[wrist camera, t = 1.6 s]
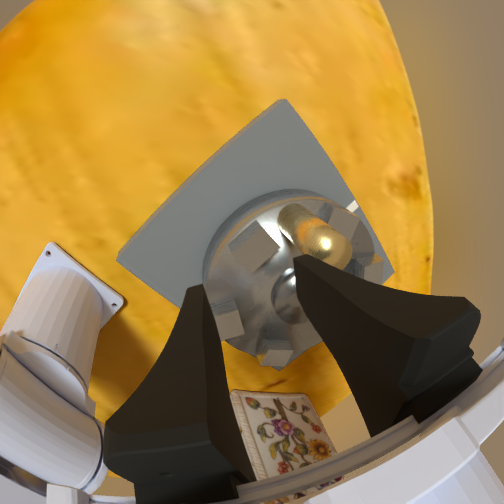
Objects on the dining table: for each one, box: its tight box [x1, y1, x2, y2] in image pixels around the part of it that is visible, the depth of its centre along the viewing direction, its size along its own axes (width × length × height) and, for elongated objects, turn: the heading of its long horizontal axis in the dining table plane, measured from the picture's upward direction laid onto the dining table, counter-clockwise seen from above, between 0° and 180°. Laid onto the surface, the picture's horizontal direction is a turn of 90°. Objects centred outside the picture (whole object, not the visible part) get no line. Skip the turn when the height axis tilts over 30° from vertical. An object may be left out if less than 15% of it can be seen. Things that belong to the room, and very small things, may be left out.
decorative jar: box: [230, 390, 344, 504], centre depth 26 cm, size 12×12×18 cm
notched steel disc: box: [202, 189, 384, 366], centre depth 19 cm, size 13×13×8 cm
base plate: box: [116, 99, 394, 371], centre depth 23 cm, size 16×20×2 cm
